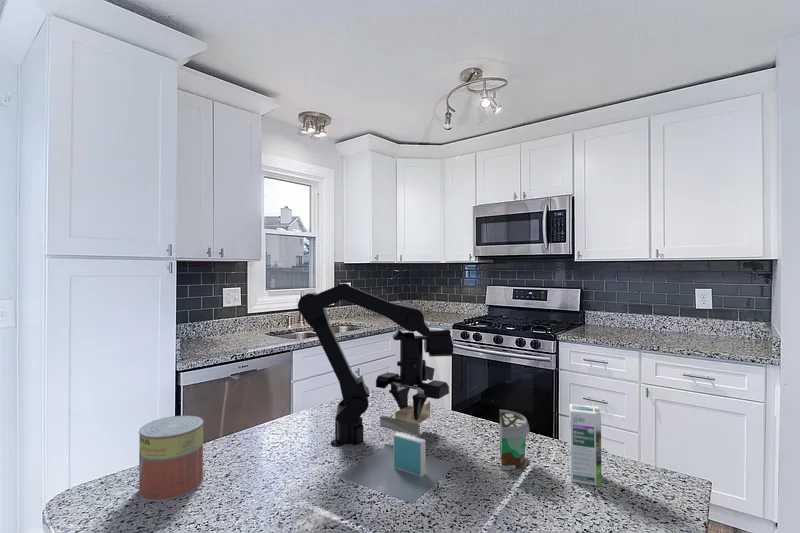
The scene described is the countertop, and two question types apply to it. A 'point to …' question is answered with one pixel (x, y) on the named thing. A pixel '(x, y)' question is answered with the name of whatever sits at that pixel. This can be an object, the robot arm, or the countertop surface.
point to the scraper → (406, 420)
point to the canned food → (170, 457)
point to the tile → (409, 454)
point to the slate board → (396, 475)
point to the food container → (512, 439)
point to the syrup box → (585, 444)
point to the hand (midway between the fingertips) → (411, 418)
